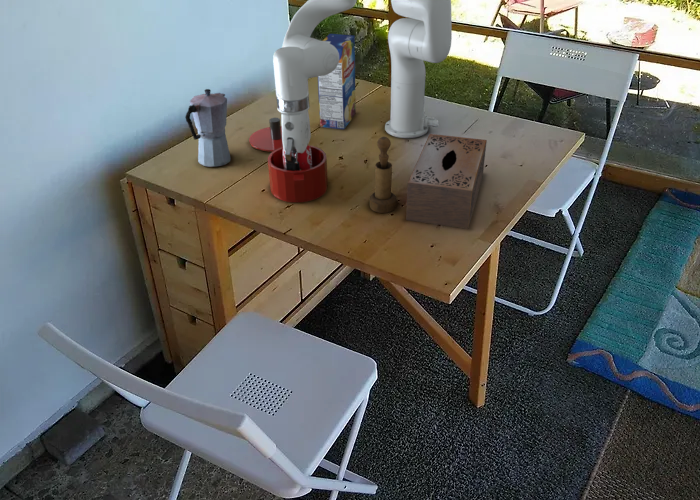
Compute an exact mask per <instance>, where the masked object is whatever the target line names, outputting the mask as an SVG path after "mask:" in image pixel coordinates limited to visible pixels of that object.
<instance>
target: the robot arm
mask: <svg viewBox="0 0 700 500" xmlns="http://www.w3.org/2000/svg"><path fill="white" fill-rule="evenodd" d="M357 1H358V0H307V1H305V2H304V4H302V6H301V7H299V9H298V10H297V11H296V12H295V14H294V15H293V16H292V18H291V20H290V22H289V24H288V28H287V30H286V32H285V35H284V38H283V41H282V46H281V47H279V48H278V49H276V50H275V51H274V53H273V55H272V64H273V75H274V86H275V87H274V88H275V99H276V107H277V108H276V109H277V111H278V112H279V113H280V115H281V120H280V123H281V126H282V140H283V149H284V151H285V156H286V157H285V160H286V170H290V171H299V170H300V165H299V162H298V154H299V153H303V152H304V151H305V149H306V147H307V143H308V144H309V143H310V141H311V137H312V133H311V124H310V114H309V110H310V93H309V79H312V78H318V77H319V76H324V75H327V74H329V73H331V72H332V71H334V70H335V68H336V67H337V65H338V63H339V53H338V51H337V49H336V48H335V47H334V46H333V45H331V44H330V43H327V42H324V41H323V40H321V39H317V38H314V37H311V36H312V34H313V32H314V30H315V28H316V27H317V26H318V25H319V24H320V23H321V22H323V21H324V20H325V19H327V18H329V17H331V16H334V15H337V14H339V13H342V12H346V11H348V10H351V9H353V8H354V6H355V5H356V4H357ZM390 3H391V8H392V10H393V12H394V13H395V14H397V15H398V16H401V17H402V18H399V19H396V20H395V21H393V23H392V24H391V25H390V27H389V29H388V35H387V42H388V48H389V53H390V54H389V55H390V65H391V70H390V71H391V73H390V74H391V78H390V119H389V120H388V121H386V122H385V124H384V130H385V131H386V133H387V134H388V135H390V136H392V137H395V138H400V139H414V138H419V137H422V136H425V134H427V133H428V131H429V127H433V128H439V125H440V123H439V122H440V120H439V119H436V117H435V116H427V115H426V111H425V93H426V71H427V70H426V66H425V62H428V63H432V64H439V63H441V62H444V61H445V60H446V59H447V57H448V56H449V53H450V52H451V47H452V38H453V37H452V33H453V31H452V28H453V27H452V25H453V24H452V0H390ZM292 148H296V150H292ZM292 153H294V154H295V158H294V157H293V156H292Z"/></svg>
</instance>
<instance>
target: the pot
mask: <svg viewBox="0 0 700 500" xmlns="http://www.w3.org/2000/svg"><path fill="white" fill-rule="evenodd" d="M308 145H309V146H310V148H311V155H312V168H310V169H306V170H299V171H290V170H284V165H283V147H281V148H279V149H276V150H275V151H273V152H270V153H269V155H268V156H267V169H268V179H269V186H270V187H269V188H270V192H271V194H272V196H274V197H275V198H276V199H278V200H280V201H282V202H287V203H307V202H311V201H314V200H317V199H319V198H320V197H322V196H324V195H325V194H326V192H327V190H328V188H329V182H328V178H329V177H328V159H327V153H326V152H325V151H324V150H323V149H322V148H319V147H318V146H315V145H311V144H308Z"/></svg>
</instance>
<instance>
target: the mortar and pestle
mask: <svg viewBox="0 0 700 500" xmlns="http://www.w3.org/2000/svg"><path fill="white" fill-rule="evenodd" d="M391 144H392V143H391V140H390V138H389V137H387V136H381V137H379V138H378V140H377V143H376V145H377V148H378V149H379V151H380V154H379V155H378V160H379V161H377V162H376V163H375V164H374V165H375V166H374V168H375V169H374V171H375V174H374V177H375V179H374V192H372V193H371V194H370V196H369V208H370V209H371V210H372V211H373V212H376V213H379V214H386V213H391V212H393V211H395V209H397V206H398V202H397V201H398V200H397V199H398V198H397V195H396V194H395V193H394V192H392V188H393V187H392V186H393V185H392V183H393V181H392V180H393V164H392V163H391V162H390V161H389V157H390V155H389V154H388V151H389V149H390V148H391Z"/></svg>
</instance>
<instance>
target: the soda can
mask: <svg viewBox="0 0 700 500" xmlns="http://www.w3.org/2000/svg"><path fill="white" fill-rule="evenodd" d="M309 145H310V144H309V143H307V147H306V149H305V151H304V152H303V153H299V154H298V162H299V165H300V170H306V169H310V168H312V155H311V148H310V146H309ZM292 150H296V148H292ZM292 156H293V157H294V158H295V154H294V153H292ZM285 157H286V156H285V151H284V149H283V165H284V170H286V160H285Z"/></svg>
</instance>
